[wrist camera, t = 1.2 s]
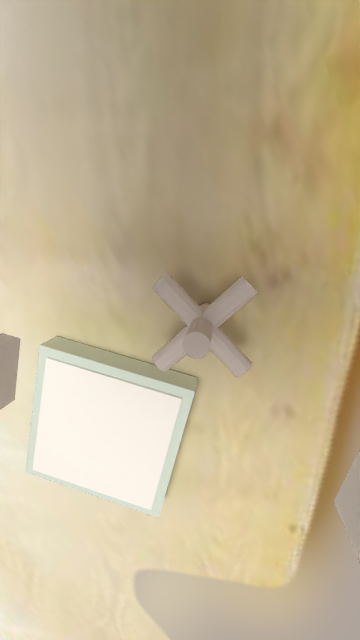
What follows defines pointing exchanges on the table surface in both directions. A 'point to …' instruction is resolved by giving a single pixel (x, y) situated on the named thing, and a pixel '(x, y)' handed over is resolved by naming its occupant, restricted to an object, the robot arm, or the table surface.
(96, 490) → the stand
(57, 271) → the table surface
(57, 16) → the table surface
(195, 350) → the pipe connector
